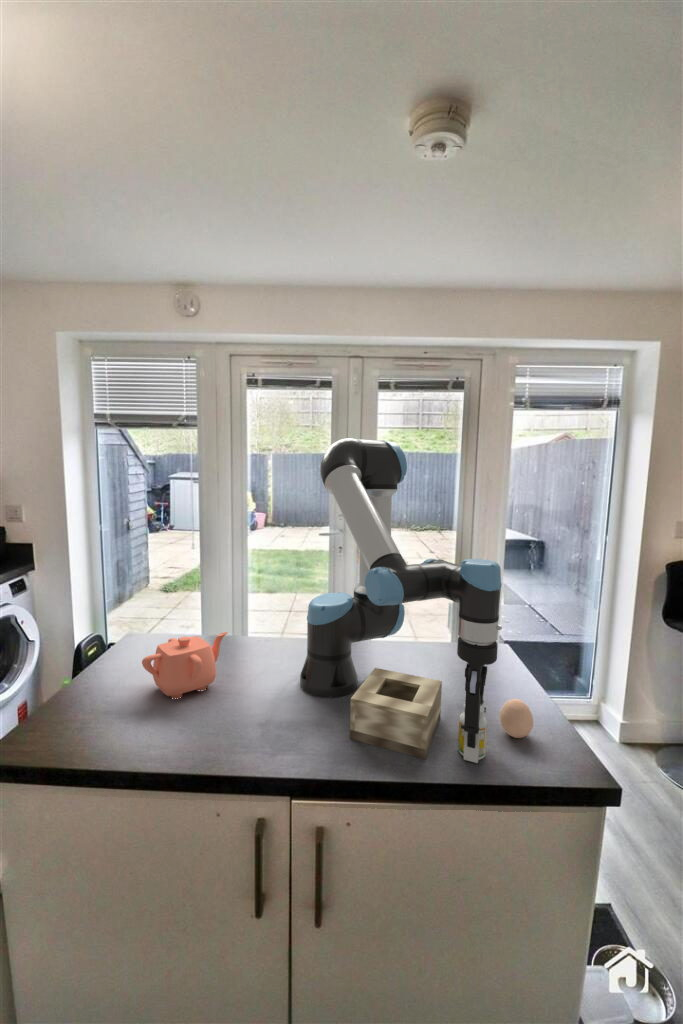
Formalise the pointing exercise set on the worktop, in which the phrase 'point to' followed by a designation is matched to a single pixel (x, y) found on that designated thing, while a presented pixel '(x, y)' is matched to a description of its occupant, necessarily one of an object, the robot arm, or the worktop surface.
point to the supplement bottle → (481, 737)
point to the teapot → (184, 664)
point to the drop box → (396, 712)
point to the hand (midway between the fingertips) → (472, 751)
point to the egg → (516, 718)
